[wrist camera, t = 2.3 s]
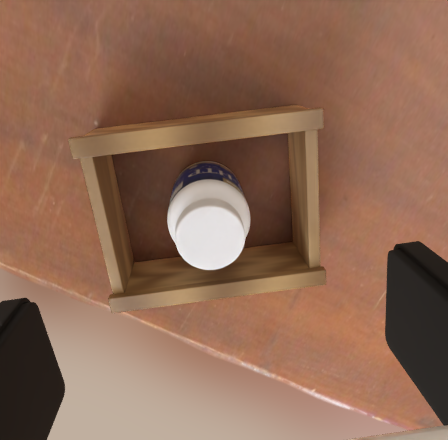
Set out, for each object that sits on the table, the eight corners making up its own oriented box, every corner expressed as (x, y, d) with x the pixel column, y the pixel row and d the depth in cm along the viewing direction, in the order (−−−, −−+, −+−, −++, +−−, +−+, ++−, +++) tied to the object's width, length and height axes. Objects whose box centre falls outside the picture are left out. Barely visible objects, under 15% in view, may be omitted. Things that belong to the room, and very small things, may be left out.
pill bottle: (249, 170, 30) (270, 208, 22) (229, 231, 32) (242, 289, 23) (181, 151, 29) (176, 183, 21) (164, 215, 31) (153, 269, 22)
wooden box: (124, 274, 32) (111, 313, 27) (91, 126, 28) (67, 139, 23) (305, 250, 33) (326, 285, 27) (299, 101, 28) (323, 108, 23)
